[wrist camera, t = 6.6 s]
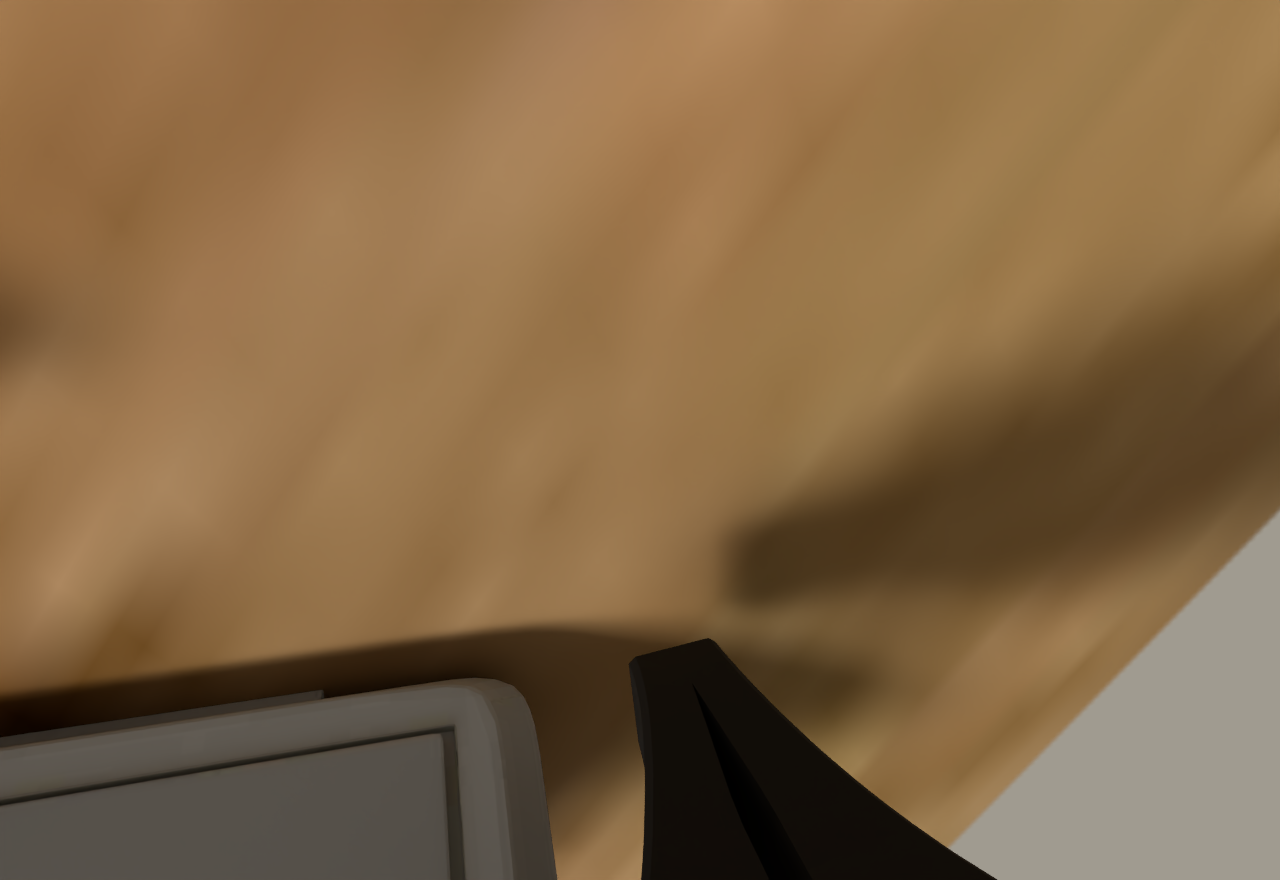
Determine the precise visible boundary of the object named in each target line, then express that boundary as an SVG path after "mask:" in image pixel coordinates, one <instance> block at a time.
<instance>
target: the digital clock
mask: <svg viewBox="0 0 1280 880" xmlns="http://www.w3.org/2000/svg"><path fill="white" fill-rule="evenodd" d="M0 880H557V874H556V866H555V859H554V852H553V844H552V837H551V830H550V822H549V815H548V808H547V800H546V793H545V786H544V778H543V771H542V764H541V756H540V750H539V745H538V739H537V734H536V729H535V724H534V721H533V717H532V714H531V711H530V709H529V706H528V704H527V702H526V700H525V698H524V696H523V695H522V694H521V693H520V692H519V691H518V690H517V689H516V688H515V687H514V686H513V685H510V684H507V683H505V682H502V681H499V680H496V679H486V678H464V679H453V680H445V681H438V682H432V683H425V684H418V685H412V686H405V687H399V688H392V689H385V690H379V691H372V692H365V693H359V694H352V695H345V696H339V697H332V698H326V699H325V698H324V693H323V690H317V691H310V692H304V693H297V694H290V695H283V696H277V697H270V698H263V699H256V700H250V701H243V702H236V703H229V704H223V705H216V706H209V707H202V708H196V709H189V710H182V711H175V712H169V713H162V714H155V715H149V716H142V717H135V718H128V719H122V720H115V721H108V722H101V723H95V724H88V725H81V726H74V727H68V728H61V729H54V730H47V731H41V732H34V733H27V734H20V735H14V736H7V737H0Z"/></svg>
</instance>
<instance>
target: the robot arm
mask: <svg viewBox="0 0 1280 880" xmlns="http://www.w3.org/2000/svg"><path fill="white" fill-rule="evenodd" d="M629 669H630V677H631V686H632V694H633V702H634V710H635V718H636V726H637V734H638V742H639V746H640V750H641V754H642V758H643V762H644V767H645V816H644V846H643V863H642V877H641V880H997V879H995V878H994V877H992V876H990V875H989V874H987V873H986V872H984V871H983V870H981V869H979V868H978V867H976V866H975V865H973V864H972V863H970V862H968V861H967V860H965V859H963V858H962V857H960V856H959V855H957V854H956V853H954V852H953V851H951V850H950V849H948V848H947V847H945V846H944V845H942V844H941V843H939V842H938V841H937V840H935V839H934V838H932V837H931V836H929V835H928V834H927V833H925V832H924V831H922V830H921V829H919V828H918V827H917V826H915V825H914V824H912V823H911V822H910V821H908V820H907V819H906V818H904V817H903V816H902V815H900V814H899V813H898V812H896V811H895V810H894V809H892V808H891V807H890V806H888V805H887V804H885V803H884V802H883V801H882V800H880V799H879V798H878V797H877V796H875V795H874V794H873V793H871V792H870V791H869V790H868V789H866V788H865V787H864V786H863V785H861V784H860V783H859V782H858V781H857V780H855V779H854V778H853V777H852V776H851V775H849V774H848V773H847V772H846V771H845V770H843V769H842V768H841V767H840V766H839V765H838V764H836V763H835V762H834V761H833V760H832V759H831V758H829V757H828V756H827V755H826V754H825V753H824V752H823V751H821V750H820V749H819V748H818V747H817V746H816V745H815V744H814V743H813V742H811V741H810V740H809V739H808V738H807V737H806V736H805V735H804V734H803V733H802V732H801V731H800V730H799V729H798V728H797V727H795V726H794V725H793V724H792V723H791V722H790V721H789V720H788V719H787V718H786V717H785V716H784V715H783V714H782V713H781V712H780V711H779V710H778V709H777V708H776V707H775V706H774V705H773V704H772V703H771V702H770V701H769V700H768V699H767V698H766V697H765V696H764V695H763V694H762V693H761V692H760V691H759V690H758V689H757V688H756V687H755V686H754V685H753V684H752V683H751V682H750V681H749V680H748V679H747V678H746V676H745V675H744V674H743V673H742V672H741V671H740V670H739V669H738V668H737V667H736V666H735V664H734V663H733V662H732V661H731V660H730V659H729V658H728V656H727V655H726V654H725V653H724V652H723V651H722V649H721V648H720V647H719V646H718V645H717V643H716V642H714V641H713V640H711V639H709V638H707V639H703V640H699V641H695V642H691V643H687V644H683V645H680V646H676V647H672V648H668V649H664V650H660V651H656V652H652V653H648V654H645V655H641V656H637V657H635V658H634V659H633V660H632V661H631V662H630V663H629Z"/></svg>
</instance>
